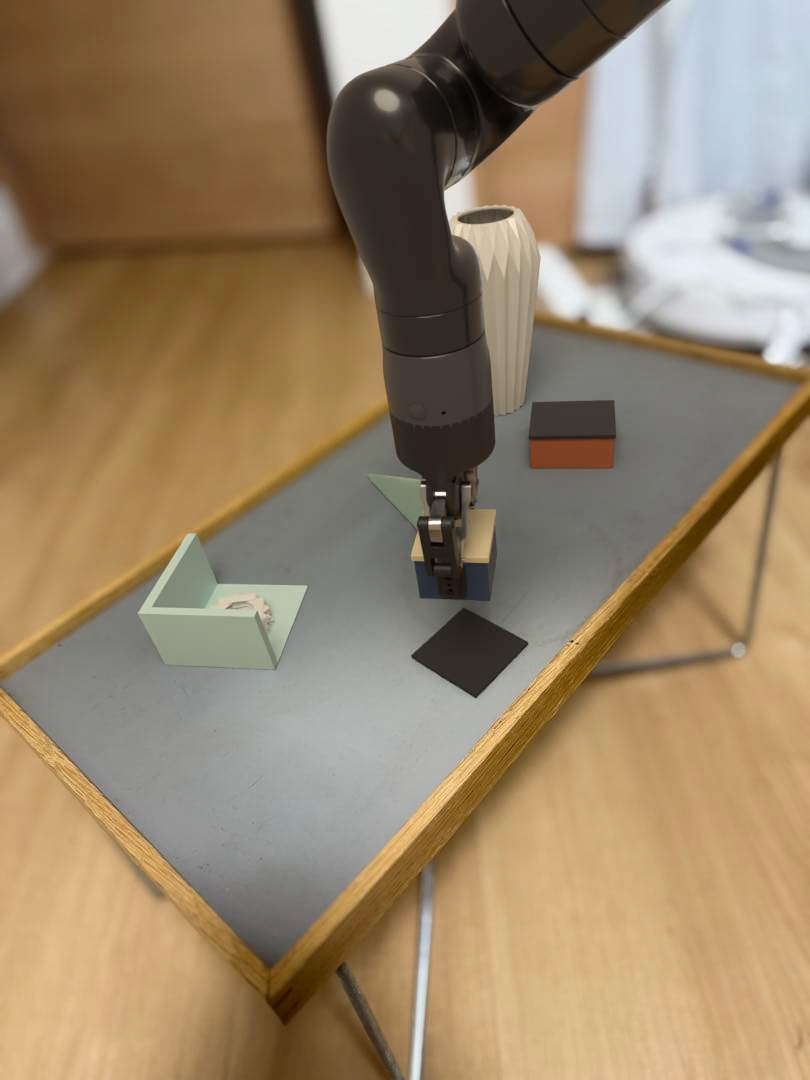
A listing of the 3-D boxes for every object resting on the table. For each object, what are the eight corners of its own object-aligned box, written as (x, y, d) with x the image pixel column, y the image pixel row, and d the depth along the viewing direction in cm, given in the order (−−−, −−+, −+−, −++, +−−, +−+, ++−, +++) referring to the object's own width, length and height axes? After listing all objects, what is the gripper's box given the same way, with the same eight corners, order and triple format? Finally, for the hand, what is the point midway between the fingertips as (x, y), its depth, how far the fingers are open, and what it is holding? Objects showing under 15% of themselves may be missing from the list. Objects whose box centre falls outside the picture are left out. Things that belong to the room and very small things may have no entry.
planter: (324, 501, 90) (417, 531, 77) (348, 458, 91) (443, 481, 78) (364, 528, 95) (457, 561, 82) (386, 487, 96) (481, 513, 83)
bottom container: (612, 433, 93) (614, 399, 90) (614, 469, 87) (616, 434, 84) (533, 434, 96) (532, 401, 93) (529, 469, 90) (528, 435, 86)
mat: (464, 609, 72) (463, 606, 72) (528, 644, 67) (528, 641, 67) (411, 658, 68) (411, 655, 68) (475, 698, 63) (475, 695, 63)
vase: (433, 412, 104) (410, 227, 87) (487, 374, 111) (475, 195, 94) (507, 436, 96) (496, 237, 80) (560, 393, 103) (561, 202, 87)
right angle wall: (274, 669, 69) (254, 616, 64) (165, 664, 72) (137, 613, 67) (307, 585, 78) (291, 533, 73) (209, 583, 81) (187, 533, 76)
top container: (499, 553, 63) (496, 508, 60) (492, 603, 58) (488, 557, 55) (430, 551, 64) (423, 508, 61) (417, 600, 60) (410, 555, 56)
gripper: (480, 449, 44) (494, 631, 54) (501, 348, 55) (509, 517, 65) (365, 450, 46) (400, 627, 56) (407, 352, 56) (430, 516, 67)
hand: (459, 567), depth 61 cm, fingers closed on top container, 6 cm apart
